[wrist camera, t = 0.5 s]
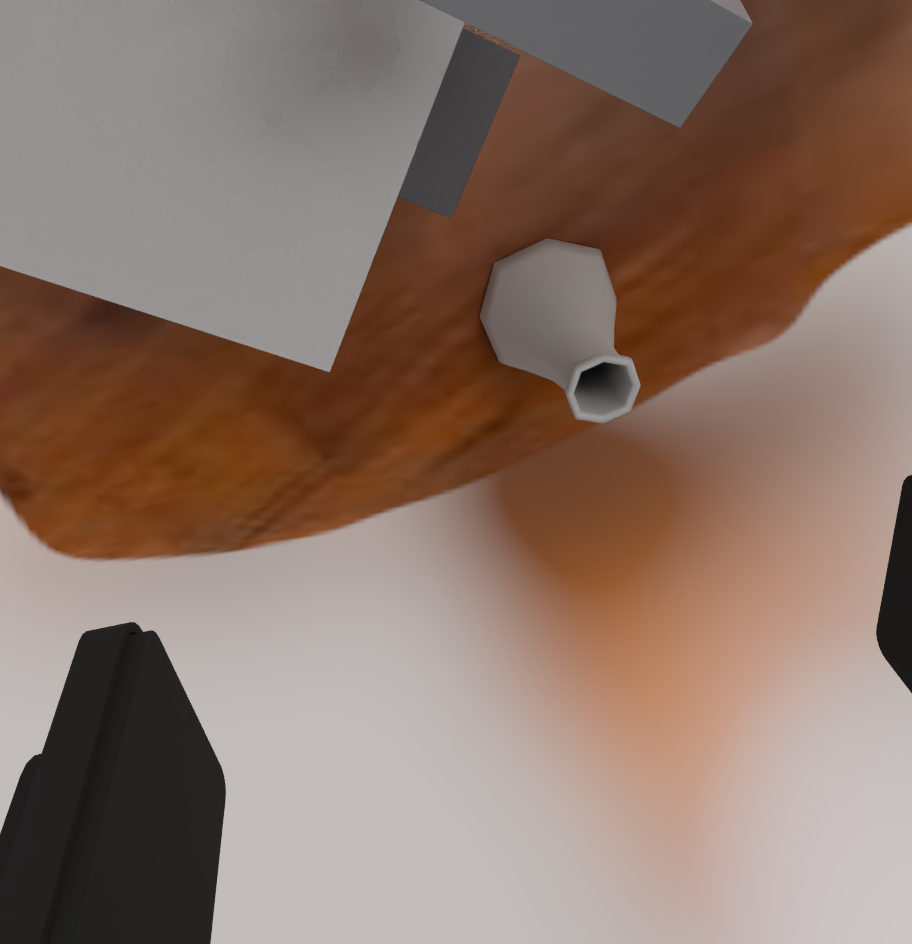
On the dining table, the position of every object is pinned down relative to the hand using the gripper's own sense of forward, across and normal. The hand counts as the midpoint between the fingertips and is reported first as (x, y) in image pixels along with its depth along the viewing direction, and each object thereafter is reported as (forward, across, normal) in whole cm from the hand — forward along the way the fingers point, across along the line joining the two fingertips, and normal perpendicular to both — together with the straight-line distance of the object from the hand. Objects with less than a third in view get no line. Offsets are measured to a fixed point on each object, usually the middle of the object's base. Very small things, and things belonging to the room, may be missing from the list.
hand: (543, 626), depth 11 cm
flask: (+33, -7, +10) cm, 35 cm away
